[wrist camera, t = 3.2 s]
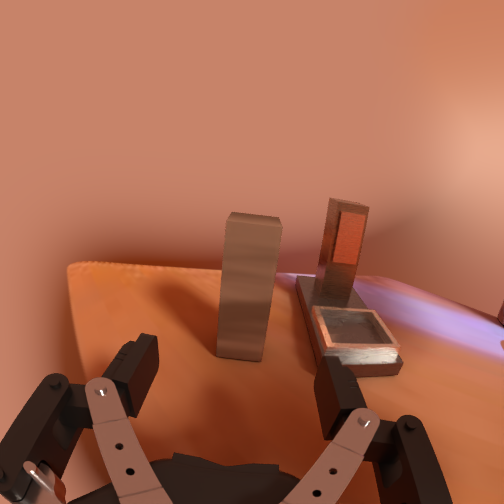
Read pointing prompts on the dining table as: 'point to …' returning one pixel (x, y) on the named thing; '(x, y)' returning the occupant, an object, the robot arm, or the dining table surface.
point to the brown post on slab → (345, 300)
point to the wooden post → (247, 284)
